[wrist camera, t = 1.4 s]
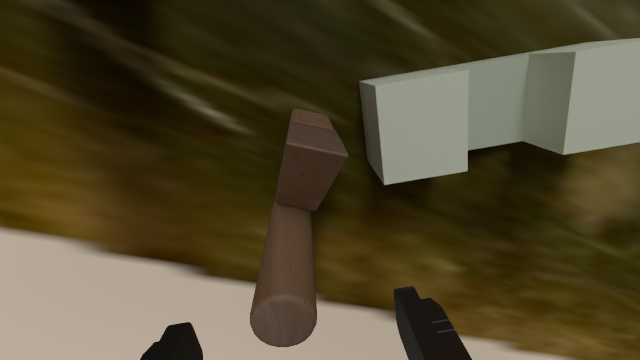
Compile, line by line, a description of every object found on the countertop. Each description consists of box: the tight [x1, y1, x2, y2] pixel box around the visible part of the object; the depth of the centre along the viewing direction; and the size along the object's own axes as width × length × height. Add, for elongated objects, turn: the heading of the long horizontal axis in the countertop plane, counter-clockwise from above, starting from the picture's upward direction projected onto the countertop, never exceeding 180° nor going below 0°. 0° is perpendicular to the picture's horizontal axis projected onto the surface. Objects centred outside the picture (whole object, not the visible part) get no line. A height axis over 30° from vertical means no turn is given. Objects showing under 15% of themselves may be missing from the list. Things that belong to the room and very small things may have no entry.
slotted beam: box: [359, 38, 640, 185], centre depth 27 cm, size 8×22×7 cm, turn 99°
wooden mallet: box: [250, 108, 348, 347], centre depth 24 cm, size 4×11×18 cm, turn 167°
